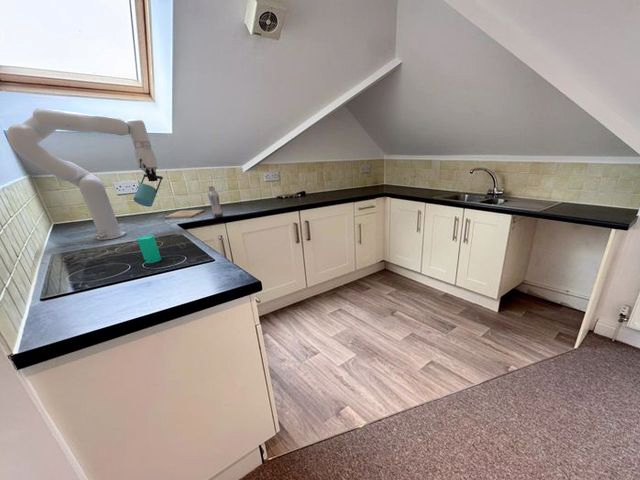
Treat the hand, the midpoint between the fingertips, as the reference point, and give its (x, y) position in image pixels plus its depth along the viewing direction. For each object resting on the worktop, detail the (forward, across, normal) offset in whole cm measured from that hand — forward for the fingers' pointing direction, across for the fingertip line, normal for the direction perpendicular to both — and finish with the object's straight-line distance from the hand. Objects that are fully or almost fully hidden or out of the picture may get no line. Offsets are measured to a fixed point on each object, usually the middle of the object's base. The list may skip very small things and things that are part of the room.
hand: (153, 180), depth 168 cm
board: (+27, -36, -8) cm, 46 cm away
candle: (+27, +56, +26) cm, 68 cm away
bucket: (+6, +2, -1) cm, 7 cm away
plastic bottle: (+27, -25, +20) cm, 42 cm away
